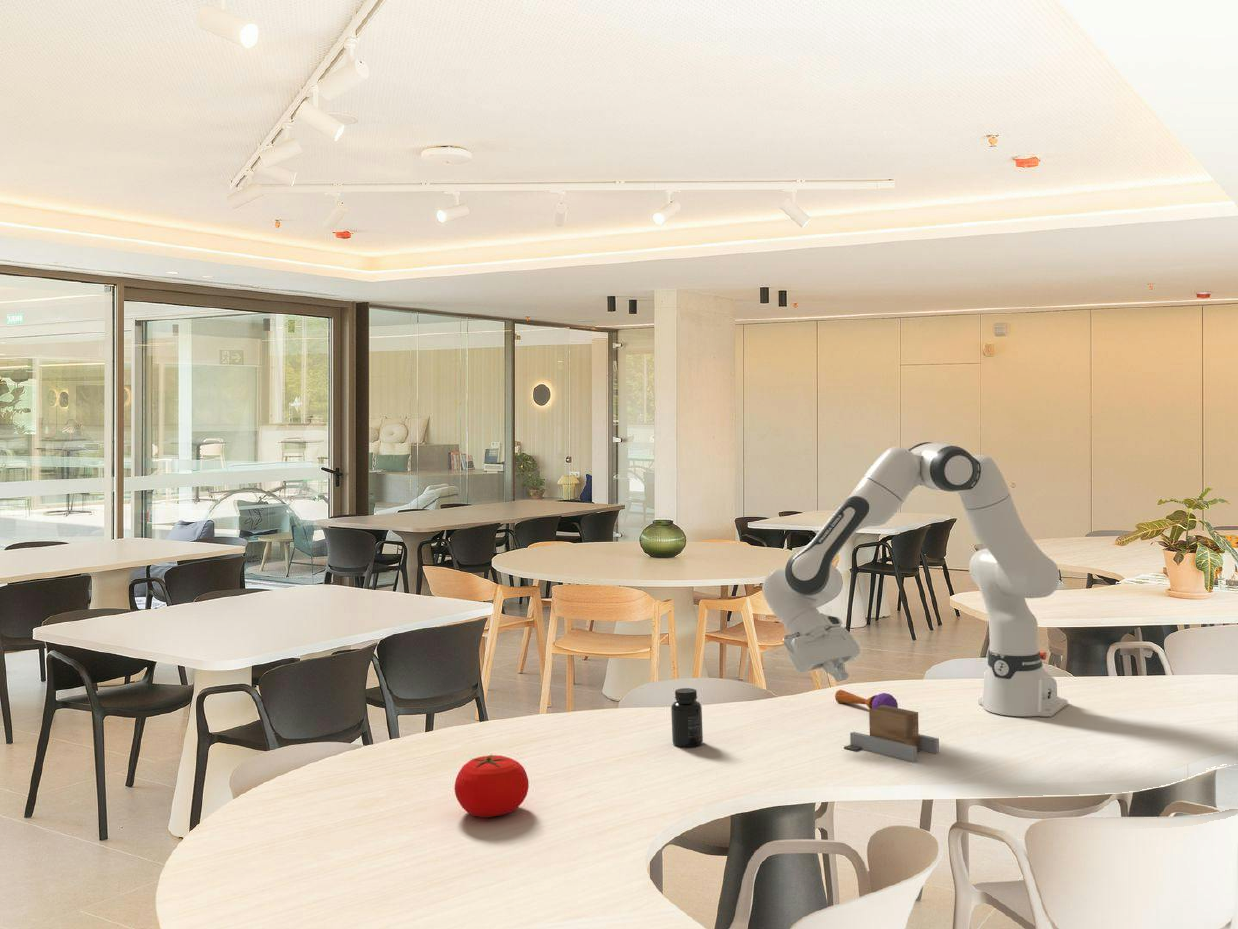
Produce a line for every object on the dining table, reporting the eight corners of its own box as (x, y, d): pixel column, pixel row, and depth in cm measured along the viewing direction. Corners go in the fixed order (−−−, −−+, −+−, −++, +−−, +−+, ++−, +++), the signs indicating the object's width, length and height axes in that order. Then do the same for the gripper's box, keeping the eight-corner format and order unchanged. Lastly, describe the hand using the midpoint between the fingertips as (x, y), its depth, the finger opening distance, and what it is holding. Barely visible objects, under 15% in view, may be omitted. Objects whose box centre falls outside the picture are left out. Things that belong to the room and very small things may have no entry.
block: (883, 743, 239) (882, 705, 238) (918, 751, 232) (918, 712, 231) (869, 748, 235) (869, 709, 235) (905, 756, 228) (904, 717, 228)
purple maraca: (850, 685, 276) (904, 695, 258) (848, 709, 275) (902, 721, 257) (832, 683, 273) (884, 694, 255) (829, 707, 273) (882, 719, 255)
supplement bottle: (703, 739, 244) (702, 686, 244) (702, 748, 238) (701, 694, 237) (672, 739, 245) (671, 686, 245) (671, 748, 238) (670, 694, 238)
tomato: (495, 795, 210) (494, 742, 210) (543, 809, 202) (542, 753, 202) (439, 817, 199) (437, 761, 199) (488, 832, 191) (486, 774, 191)
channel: (882, 735, 244) (882, 722, 244) (944, 750, 232) (944, 736, 232) (844, 748, 235) (843, 735, 235) (907, 764, 223) (907, 750, 223)
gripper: (787, 628, 243) (822, 678, 236) (843, 616, 256) (878, 664, 249) (772, 645, 246) (806, 695, 239) (828, 633, 260) (862, 680, 253)
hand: (843, 679), depth 244 cm, fingers closed
